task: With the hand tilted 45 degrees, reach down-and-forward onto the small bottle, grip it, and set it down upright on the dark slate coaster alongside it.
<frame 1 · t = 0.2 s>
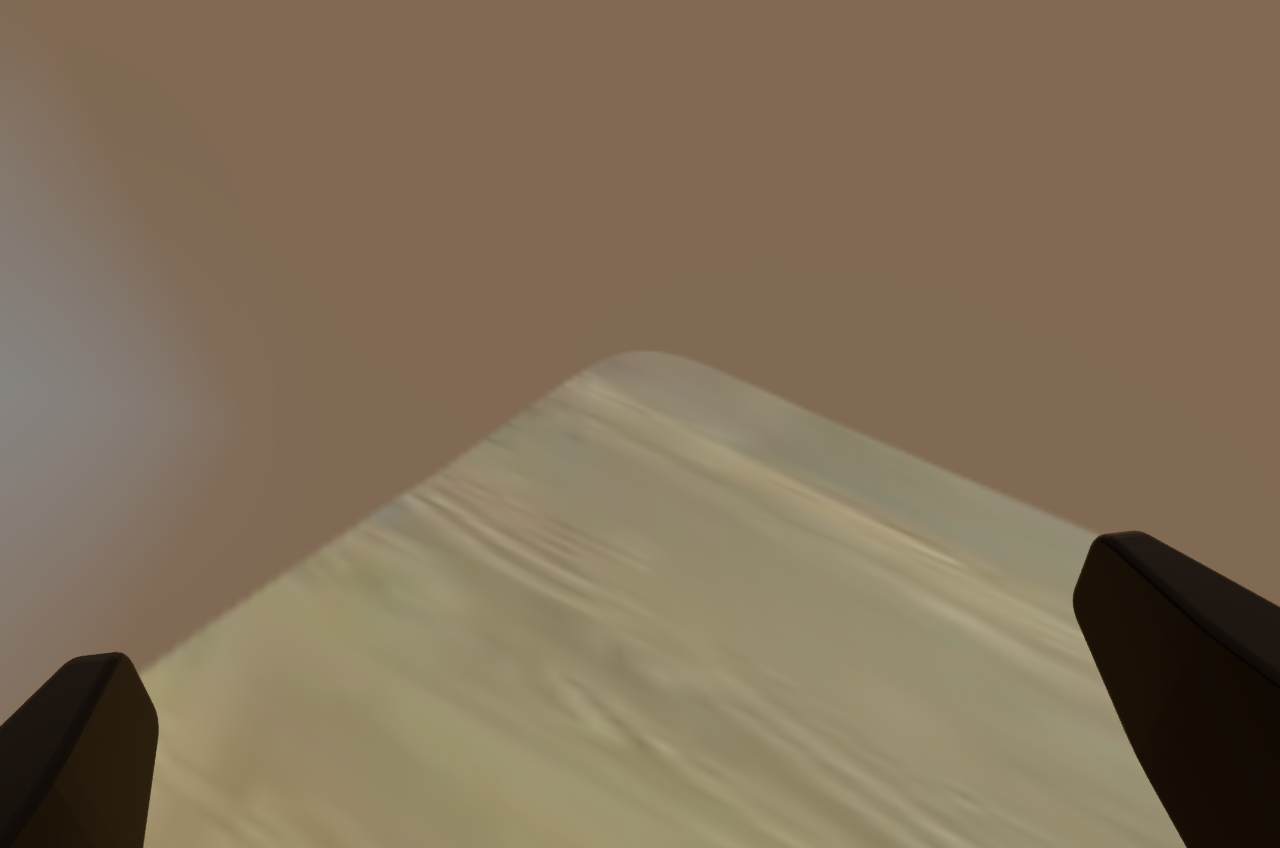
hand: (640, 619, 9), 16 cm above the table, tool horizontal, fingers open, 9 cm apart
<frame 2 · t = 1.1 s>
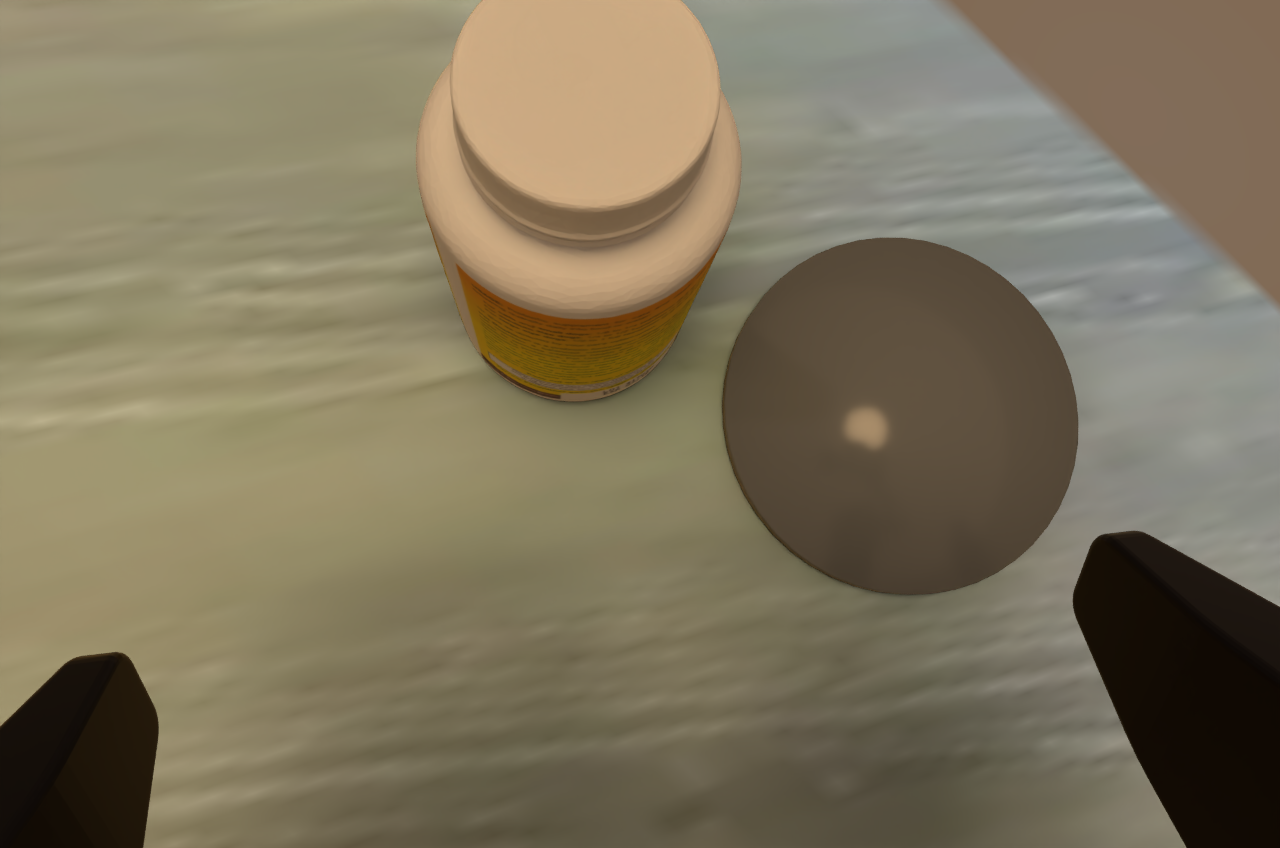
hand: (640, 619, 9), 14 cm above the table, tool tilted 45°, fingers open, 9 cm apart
supplement bottle: (571, 299, 24), on the table
slate coaster: (897, 413, 24), on the table
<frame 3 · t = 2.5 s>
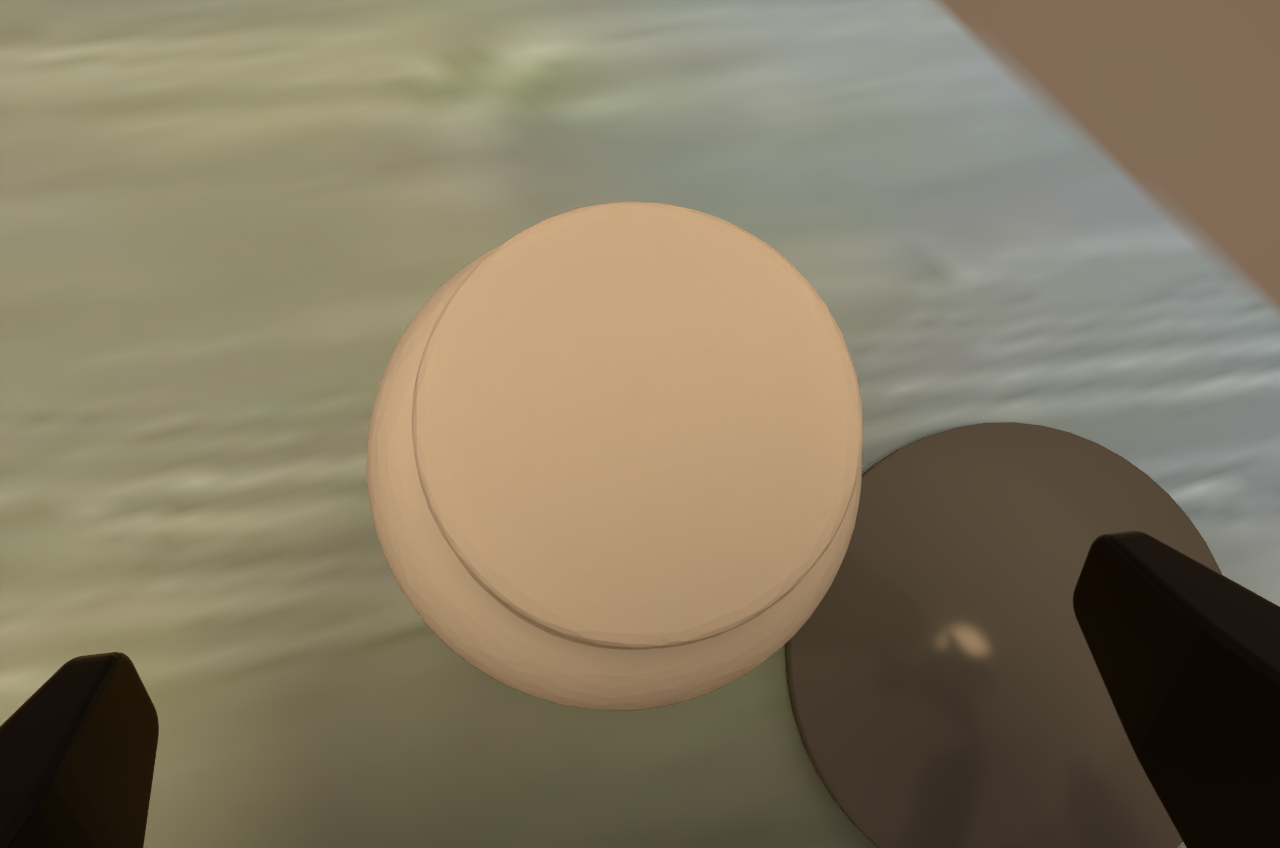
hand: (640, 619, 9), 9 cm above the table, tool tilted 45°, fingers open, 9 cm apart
supplement bottle: (588, 509, 18), on the table
slate coaster: (1010, 652, 18), on the table
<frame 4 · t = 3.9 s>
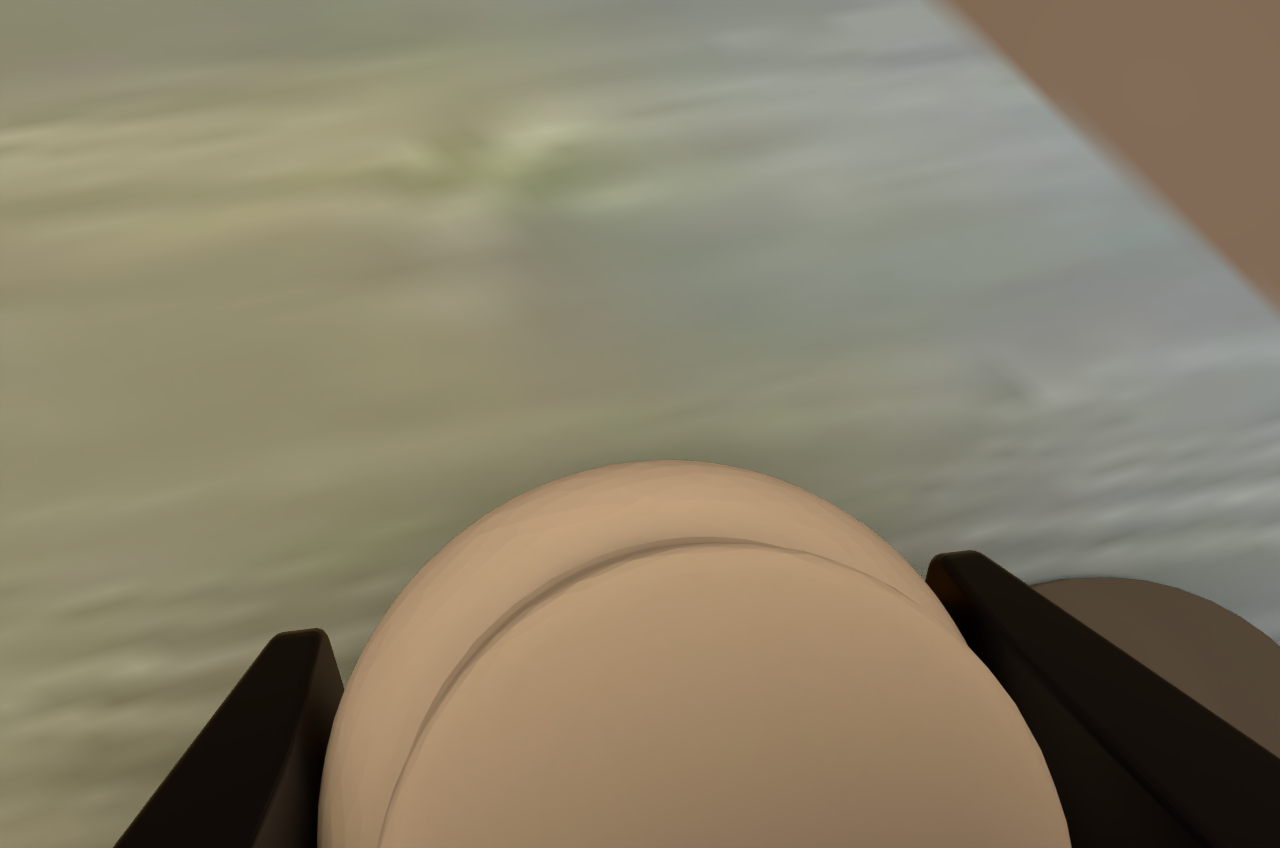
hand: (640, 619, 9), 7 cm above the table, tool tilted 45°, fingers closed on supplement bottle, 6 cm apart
supplement bottle: (607, 688, 15), on the table, touching gripper
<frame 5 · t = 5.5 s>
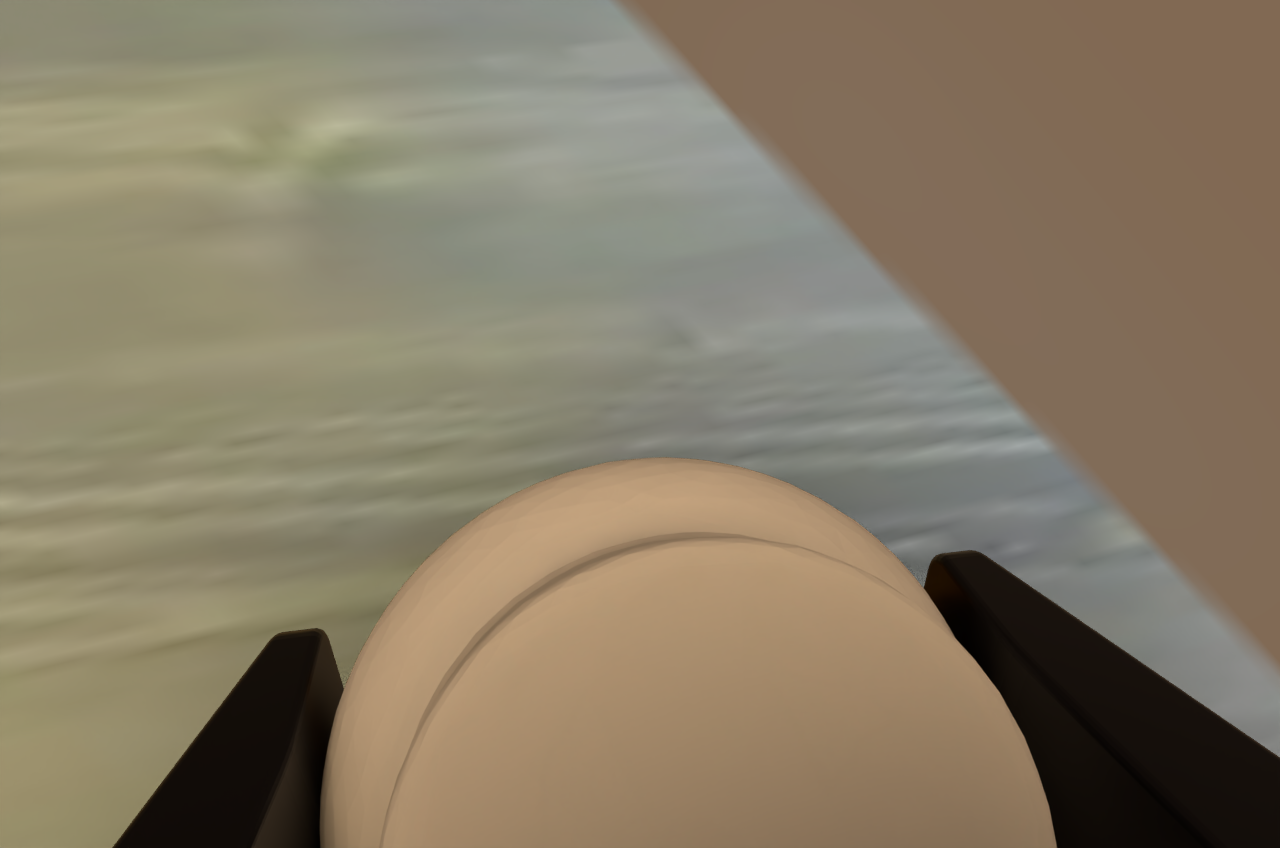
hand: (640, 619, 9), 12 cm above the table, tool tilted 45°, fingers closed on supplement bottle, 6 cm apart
supplement bottle: (602, 685, 15), point 5 cm above the table, touching gripper
when the fingers open (7 cm above the table, at t = 7.1 s): supplement bottle stays where it is, resting on slate coaster.
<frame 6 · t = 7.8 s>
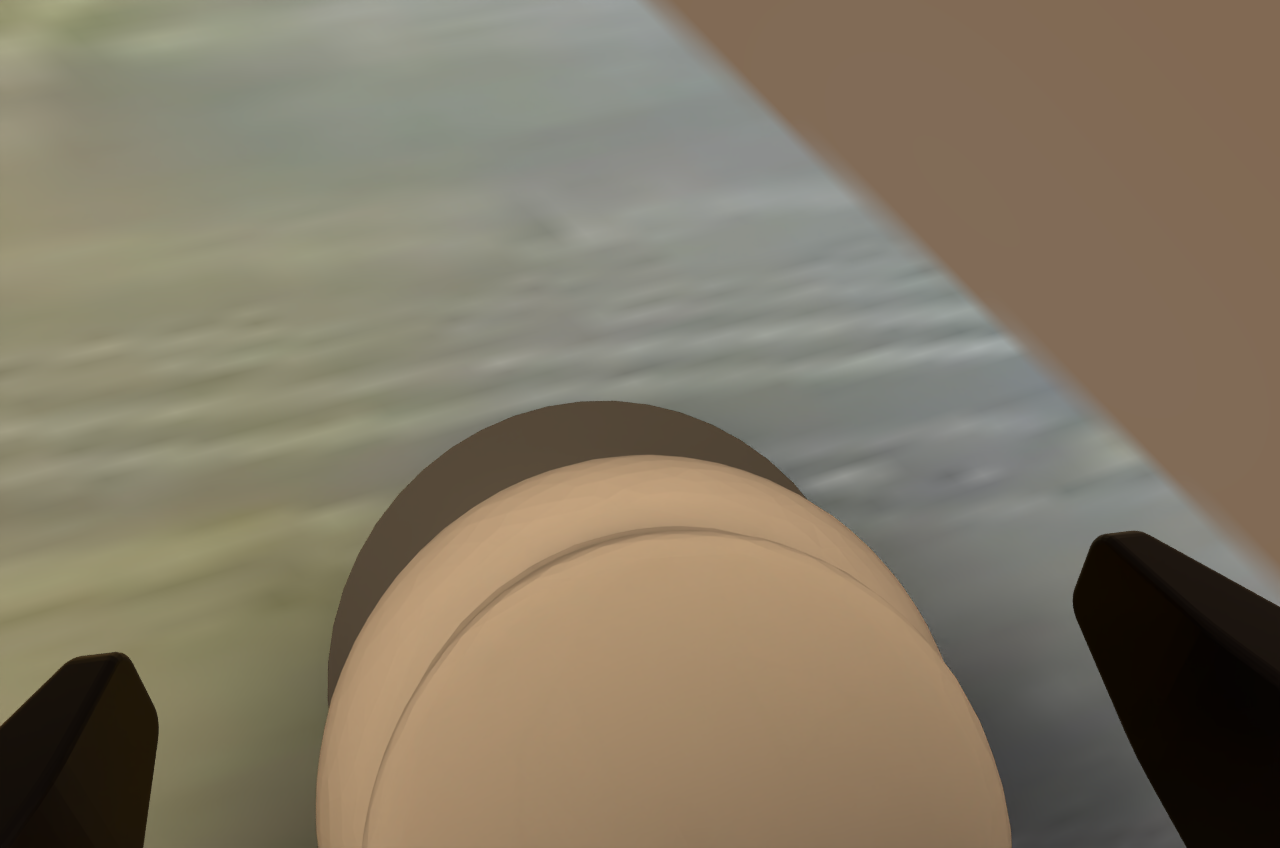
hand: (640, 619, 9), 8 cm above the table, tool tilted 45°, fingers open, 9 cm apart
supplement bottle: (600, 678, 16), resting on slate coaster
slate coaster: (604, 664, 16), on the table
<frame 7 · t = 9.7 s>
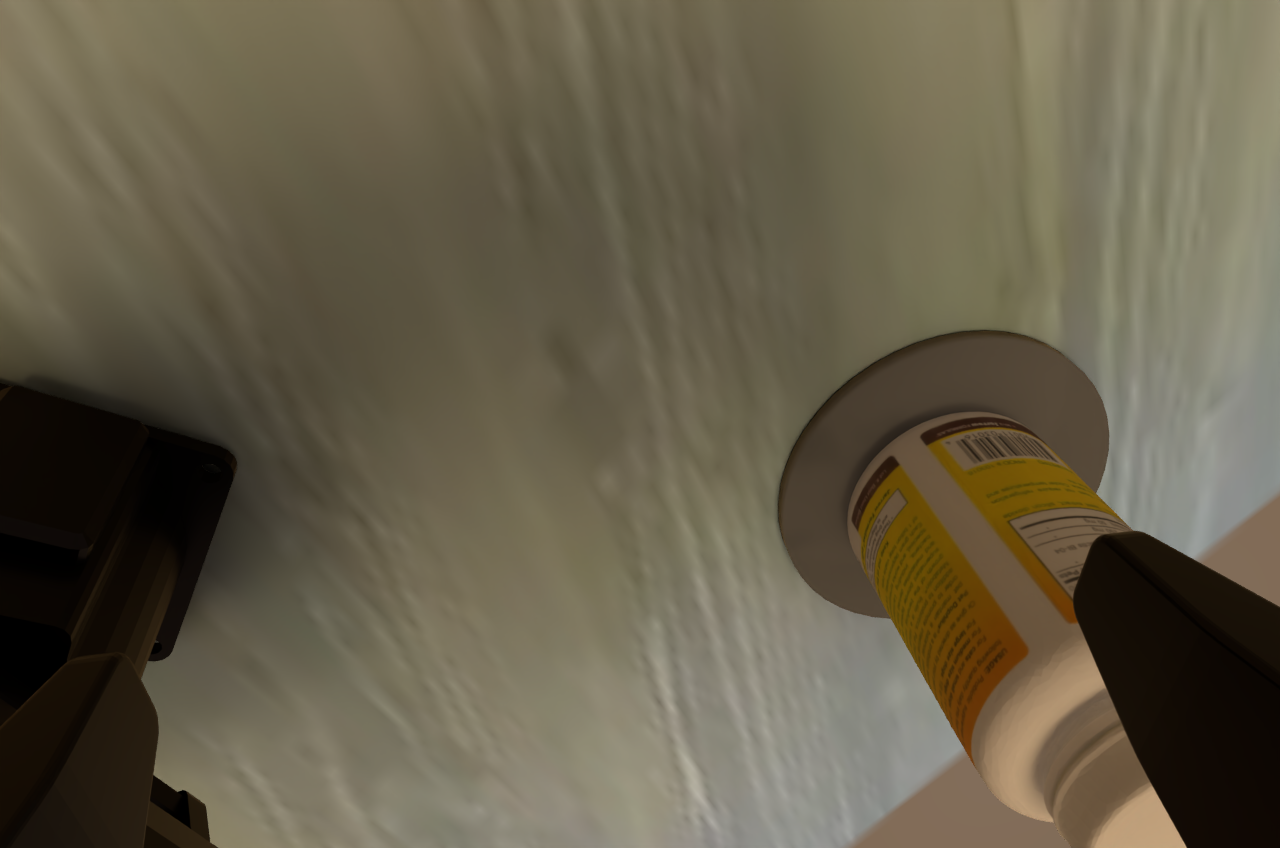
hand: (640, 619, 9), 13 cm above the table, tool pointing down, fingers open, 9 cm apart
supplement bottle: (938, 487, 25), resting on slate coaster
slate coaster: (939, 481, 25), on the table
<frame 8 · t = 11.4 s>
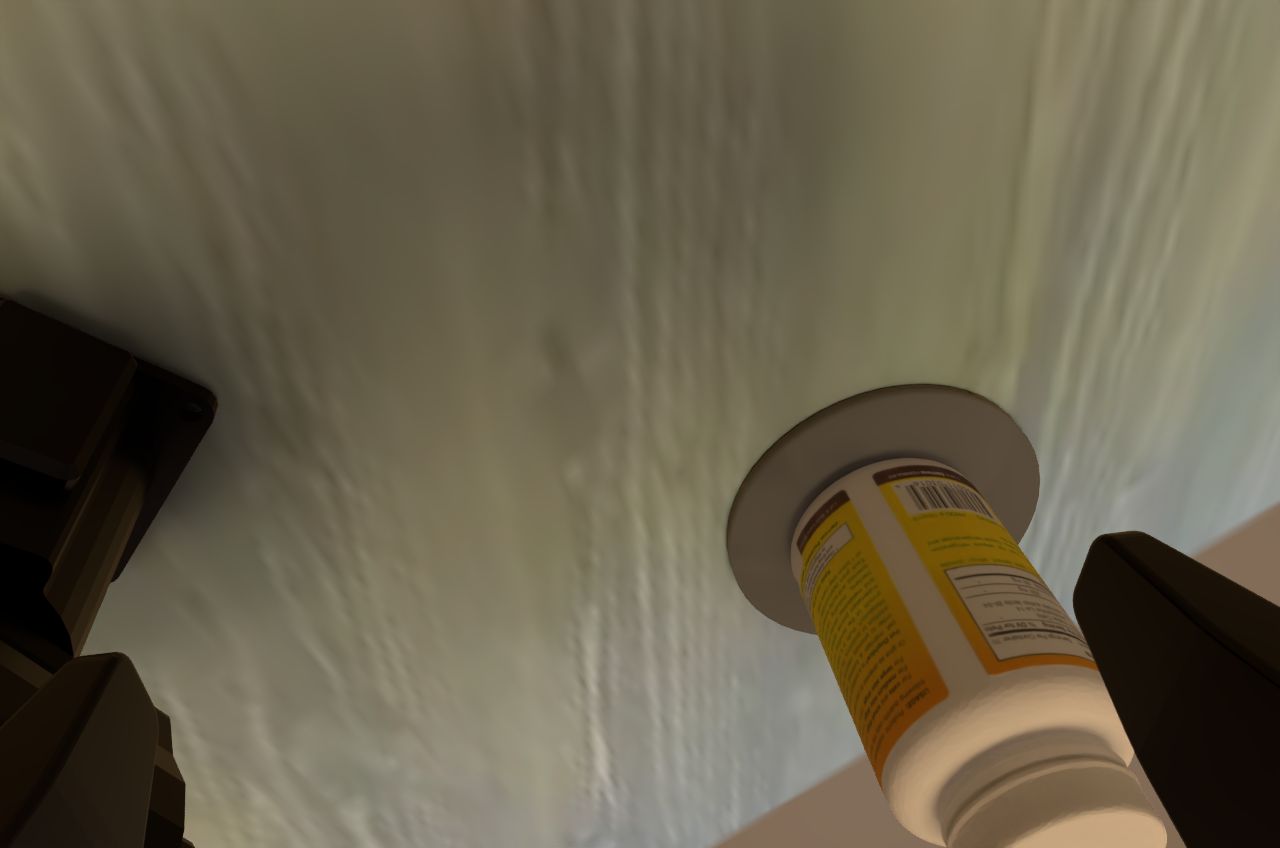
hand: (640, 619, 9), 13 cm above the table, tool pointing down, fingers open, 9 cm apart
supplement bottle: (878, 521, 27), resting on slate coaster
slate coaster: (879, 515, 27), on the table
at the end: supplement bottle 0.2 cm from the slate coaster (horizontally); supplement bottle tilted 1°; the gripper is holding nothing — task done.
